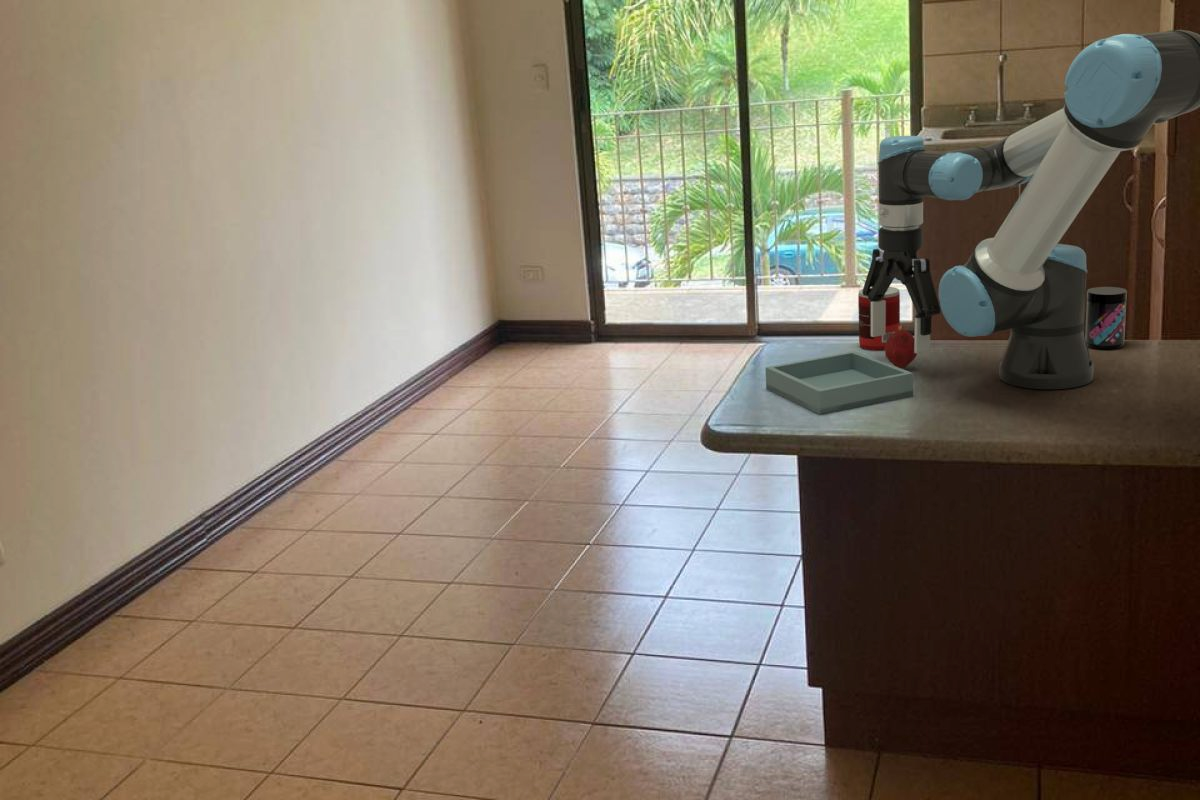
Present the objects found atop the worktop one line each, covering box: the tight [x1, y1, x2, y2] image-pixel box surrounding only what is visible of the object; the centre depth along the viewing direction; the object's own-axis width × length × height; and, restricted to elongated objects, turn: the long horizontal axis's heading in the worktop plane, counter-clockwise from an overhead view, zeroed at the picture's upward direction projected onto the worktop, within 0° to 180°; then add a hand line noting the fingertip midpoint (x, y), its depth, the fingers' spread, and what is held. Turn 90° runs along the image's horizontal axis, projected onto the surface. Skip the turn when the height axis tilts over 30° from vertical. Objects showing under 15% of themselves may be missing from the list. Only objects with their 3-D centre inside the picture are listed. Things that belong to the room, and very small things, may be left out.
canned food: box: [857, 286, 901, 352], centre depth 234 cm, size 8×8×11 cm
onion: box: [884, 324, 918, 370], centre depth 218 cm, size 6×6×8 cm
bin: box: [765, 350, 914, 416], centre depth 208 cm, size 18×18×4 cm
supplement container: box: [1084, 286, 1128, 351], centre depth 222 cm, size 7×7×10 cm
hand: (899, 343), depth 218 cm, fingers open, 13 cm apart
